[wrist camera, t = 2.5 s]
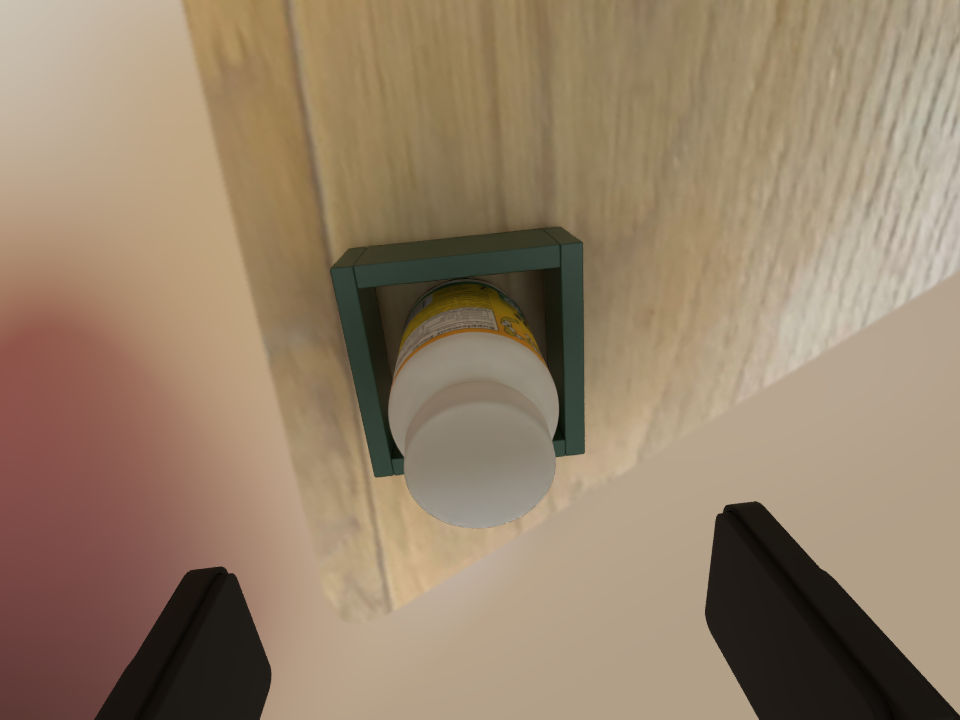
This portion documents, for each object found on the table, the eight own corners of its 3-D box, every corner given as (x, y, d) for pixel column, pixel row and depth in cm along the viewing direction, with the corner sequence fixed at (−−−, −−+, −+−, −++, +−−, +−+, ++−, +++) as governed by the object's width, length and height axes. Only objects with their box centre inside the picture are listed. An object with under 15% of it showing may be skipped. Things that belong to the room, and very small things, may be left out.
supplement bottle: (392, 287, 21) (352, 394, 12) (519, 266, 21) (575, 358, 12) (417, 400, 23) (400, 562, 14) (533, 381, 23) (588, 531, 14)
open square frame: (347, 248, 20) (329, 268, 17) (561, 226, 20) (583, 241, 17) (384, 432, 23) (374, 478, 20) (566, 412, 23) (585, 454, 20)
